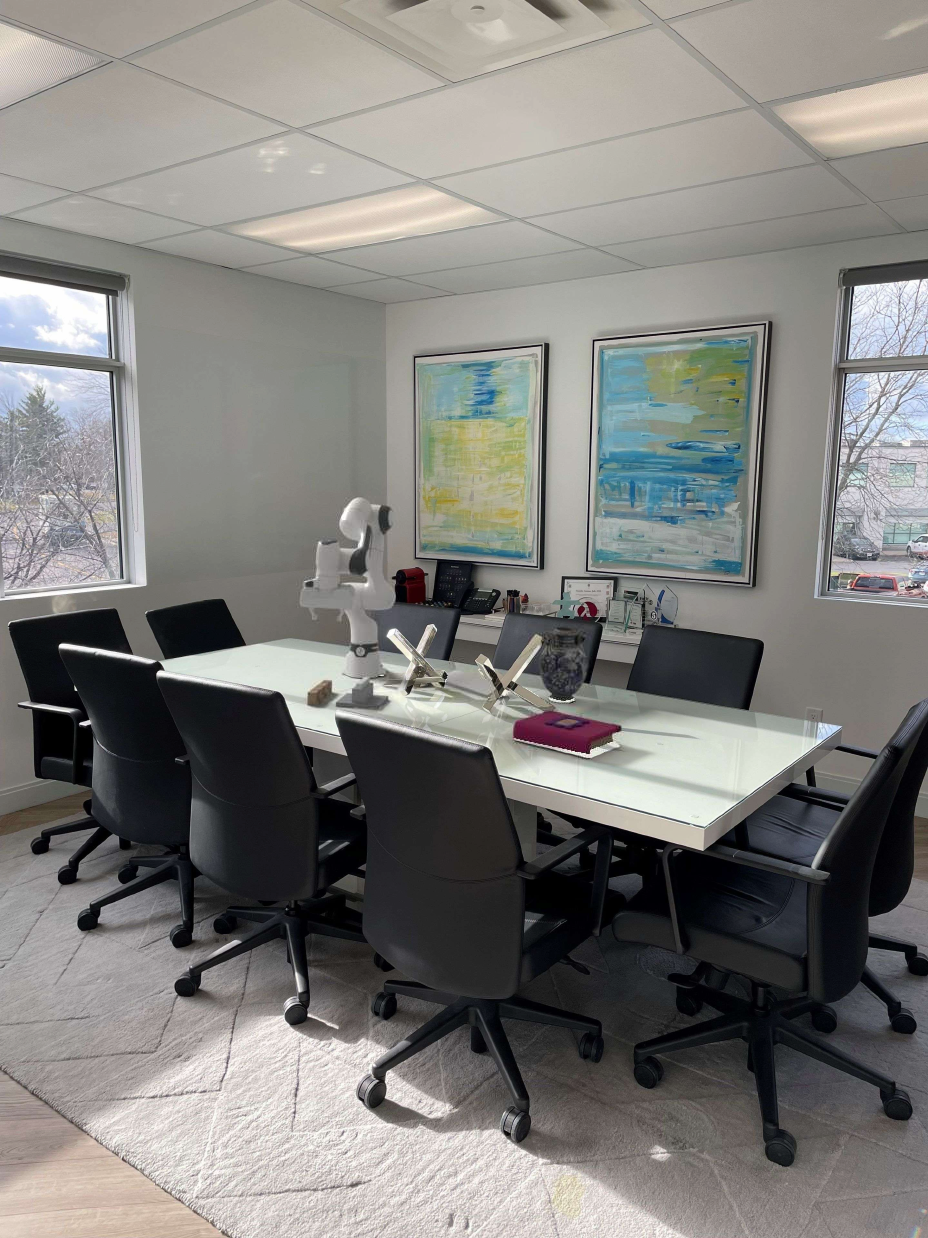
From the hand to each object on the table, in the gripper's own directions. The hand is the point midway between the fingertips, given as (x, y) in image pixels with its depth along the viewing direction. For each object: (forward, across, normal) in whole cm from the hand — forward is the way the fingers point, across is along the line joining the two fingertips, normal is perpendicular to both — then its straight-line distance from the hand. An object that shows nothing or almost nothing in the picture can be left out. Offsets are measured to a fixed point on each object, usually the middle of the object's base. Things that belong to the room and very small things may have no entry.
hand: (326, 620), depth 333 cm
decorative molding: (+29, -52, -30) cm, 66 cm away
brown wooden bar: (+30, +1, +2) cm, 30 cm away
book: (+31, -92, +39) cm, 104 cm away
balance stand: (+29, -16, +5) cm, 34 cm away
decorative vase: (+29, -88, -21) cm, 95 cm away
